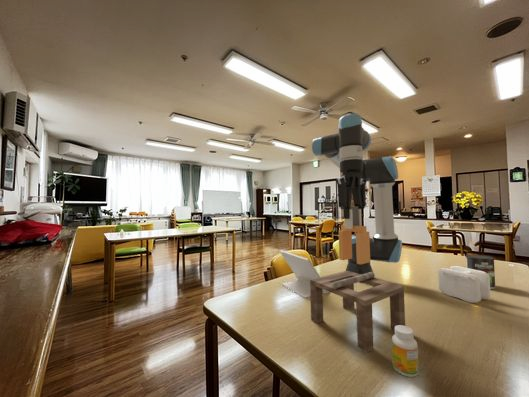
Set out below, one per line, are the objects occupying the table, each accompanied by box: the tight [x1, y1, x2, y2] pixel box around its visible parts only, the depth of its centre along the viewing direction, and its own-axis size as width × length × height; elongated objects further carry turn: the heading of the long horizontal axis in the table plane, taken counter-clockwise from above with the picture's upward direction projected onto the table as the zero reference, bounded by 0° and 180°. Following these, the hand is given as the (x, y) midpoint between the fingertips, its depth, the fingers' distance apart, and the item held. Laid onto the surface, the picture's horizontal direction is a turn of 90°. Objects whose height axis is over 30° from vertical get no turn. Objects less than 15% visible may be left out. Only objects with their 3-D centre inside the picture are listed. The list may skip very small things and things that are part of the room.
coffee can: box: [465, 253, 497, 290], centre depth 112 cm, size 10×10×14 cm
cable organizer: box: [437, 265, 492, 304], centre depth 98 cm, size 15×11×12 cm
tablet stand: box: [279, 250, 331, 299], centre depth 115 cm, size 18×25×17 cm
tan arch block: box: [338, 206, 371, 264], centre depth 78 cm, size 8×5×18 cm, turn 32°
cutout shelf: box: [310, 270, 406, 353], centre depth 77 cm, size 22×20×16 cm
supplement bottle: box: [391, 325, 419, 378], centre depth 56 cm, size 5×5×10 cm
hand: (353, 227), depth 78 cm, fingers closed on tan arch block, 4 cm apart
